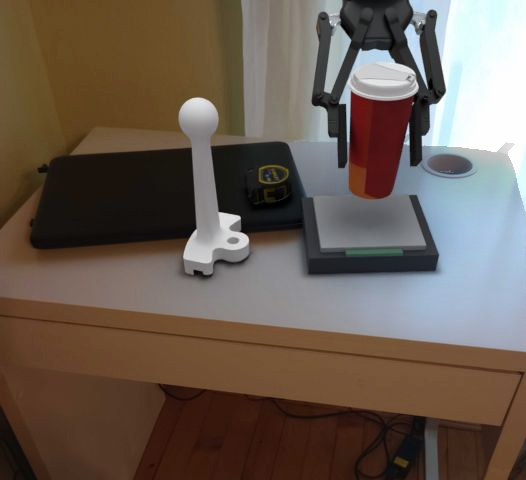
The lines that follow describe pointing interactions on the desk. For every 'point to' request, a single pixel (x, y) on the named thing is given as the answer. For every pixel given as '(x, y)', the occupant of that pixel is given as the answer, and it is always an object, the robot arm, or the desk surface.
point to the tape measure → (268, 183)
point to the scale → (367, 234)
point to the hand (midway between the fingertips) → (379, 163)
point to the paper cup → (378, 126)
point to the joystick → (208, 196)
